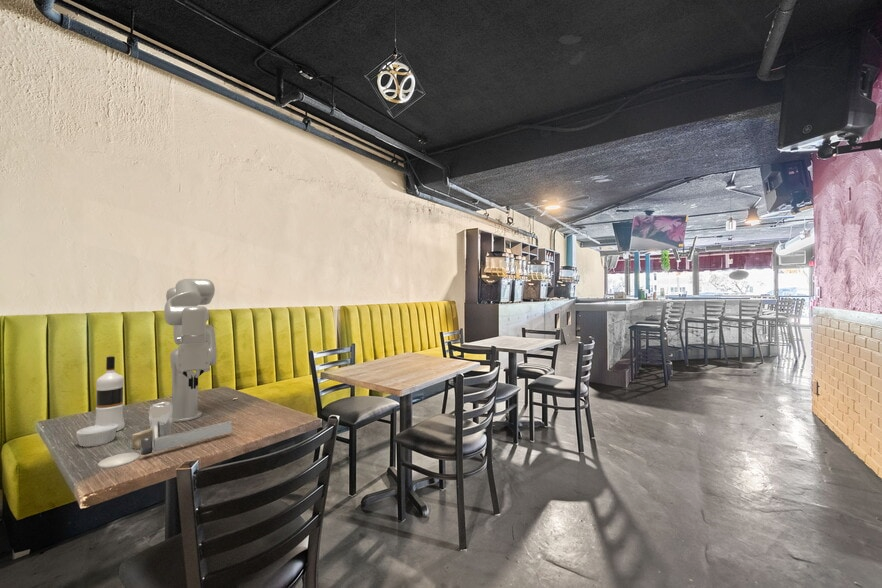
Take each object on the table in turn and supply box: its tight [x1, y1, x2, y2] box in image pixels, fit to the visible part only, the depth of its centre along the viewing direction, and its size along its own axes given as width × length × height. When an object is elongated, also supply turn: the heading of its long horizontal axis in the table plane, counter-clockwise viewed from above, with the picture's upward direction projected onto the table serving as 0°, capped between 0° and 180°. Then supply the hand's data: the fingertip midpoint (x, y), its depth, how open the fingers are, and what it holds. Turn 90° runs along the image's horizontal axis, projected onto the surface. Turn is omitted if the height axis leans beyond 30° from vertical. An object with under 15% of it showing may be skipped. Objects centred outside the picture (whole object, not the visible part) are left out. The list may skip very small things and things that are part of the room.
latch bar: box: [140, 420, 233, 456], centre depth 131 cm, size 3×28×5 cm, turn 140°
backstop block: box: [131, 428, 152, 450], centre depth 133 cm, size 3×9×5 cm, turn 167°
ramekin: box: [75, 424, 118, 448], centre depth 134 cm, size 11×11×5 cm
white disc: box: [97, 452, 140, 469], centre depth 119 cm, size 10×10×1 cm
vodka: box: [94, 355, 126, 432], centre depth 146 cm, size 9×9×30 cm
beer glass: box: [148, 401, 173, 450], centre depth 131 cm, size 7×7×15 cm
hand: (193, 388), depth 136 cm, fingers closed
